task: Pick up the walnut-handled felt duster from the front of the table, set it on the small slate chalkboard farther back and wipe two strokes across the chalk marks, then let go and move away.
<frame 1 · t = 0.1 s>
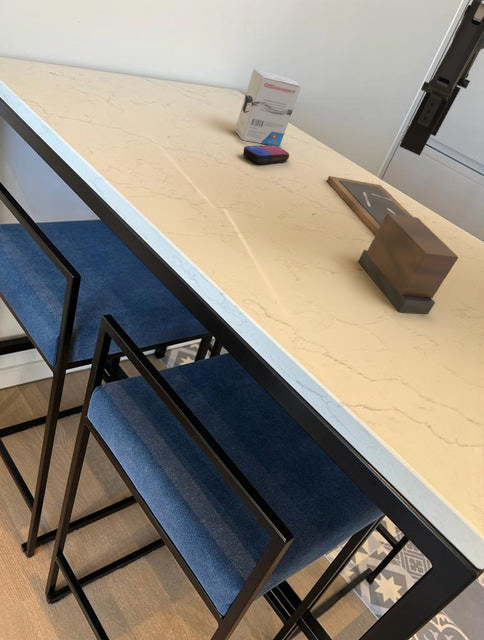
hand: (418, 140, 75), 17 cm above the table, tool pointing down, fingers open, 13 cm apart
ink box: (256, 139, 113), on the table
duster: (391, 286, 80), on the table
board: (380, 214, 101), on the table
eraser: (264, 160, 105), on the table
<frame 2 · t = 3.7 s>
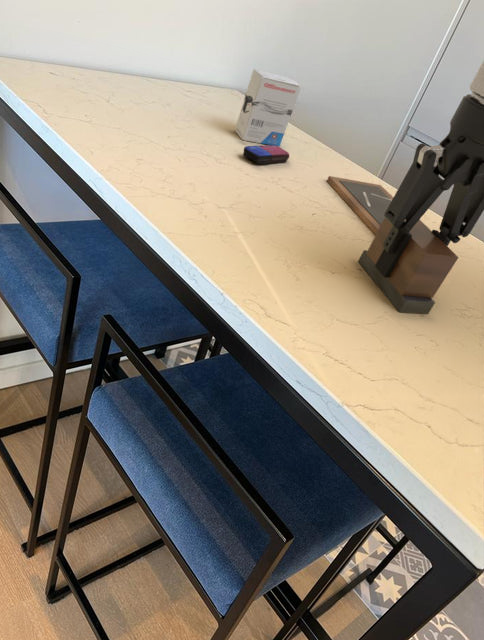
hand: (399, 273, 79), 2 cm above the table, tool pointing down, fingers closed on duster, 5 cm apart
duster: (391, 286, 80), on the table, touching gripper
everything else where it was.
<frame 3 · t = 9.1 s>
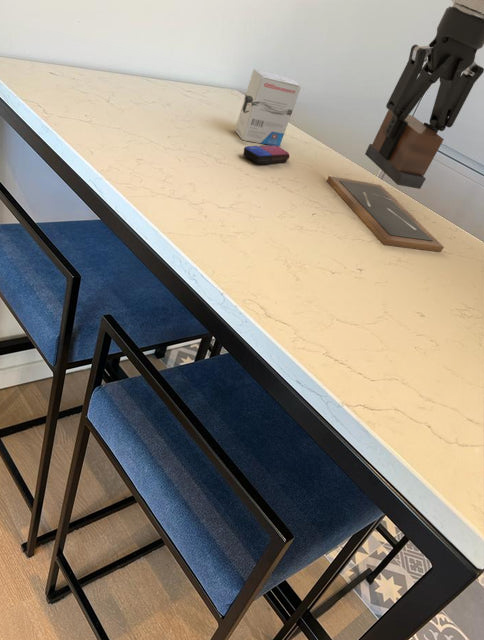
hand: (397, 158, 100), 8 cm above the table, tool pointing down, fingers closed on duster, 5 cm apart
duster: (391, 171, 101), point 6 cm above the table, touching gripper
everything else where it was.
when the fingers open (3 cm above the table, at t = 14.7 s): duster stays where it is, resting on board.
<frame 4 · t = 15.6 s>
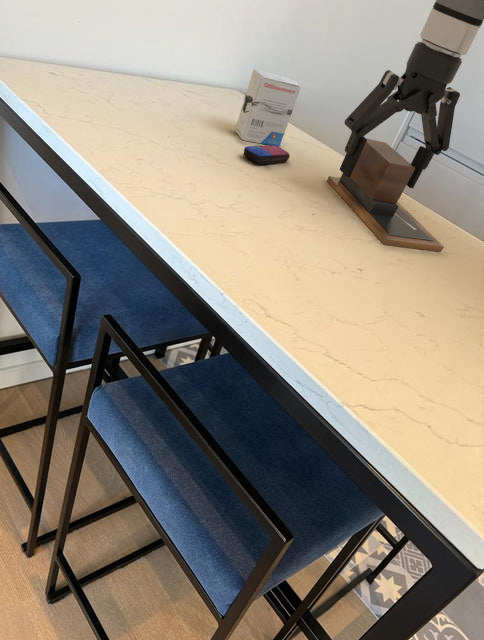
hand: (376, 179, 99), 5 cm above the table, tool pointing down, fingers open, 13 cm apart
duster: (365, 197, 102), point 1 cm above the table, touching board
everything else where it was.
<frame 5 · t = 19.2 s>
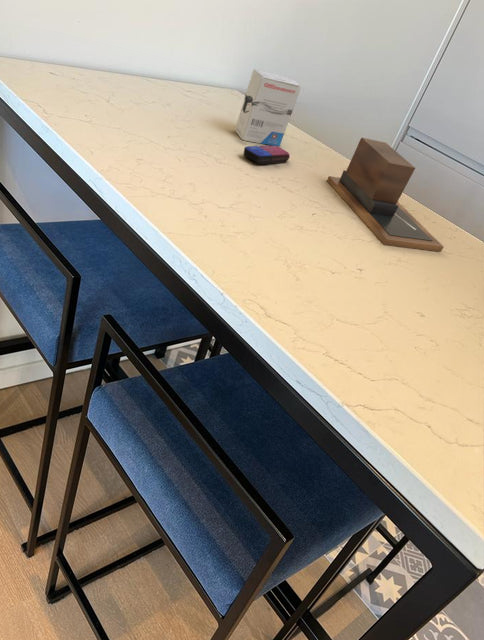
nothing on the table moved.
at the end: duster inside the target area on the board (3.9 cm from its centre), point 1.1 cm above the board's base; duster tilted 0°; the gripper is holding nothing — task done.
